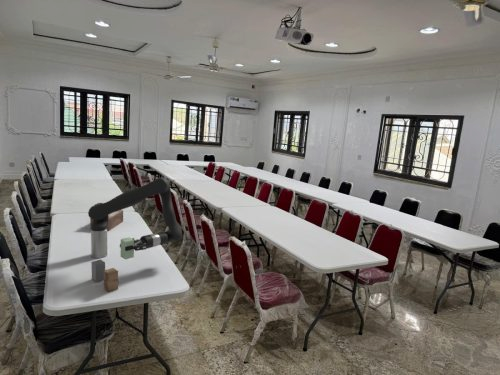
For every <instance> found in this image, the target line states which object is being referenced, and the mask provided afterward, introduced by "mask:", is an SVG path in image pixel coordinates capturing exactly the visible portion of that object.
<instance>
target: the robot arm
mask: <svg viewBox="0 0 500 375" xmlns="http://www.w3.org/2000/svg"><path fill="white" fill-rule="evenodd" d="M171 190H172V189H171V183H170V181H169V179H167V178H165V177H157V178H155V179H153V180H151V181H150V182H148V183H147V184H144V185H142V186H139V187H135V188H133V189H129V190H127V191H125V192H123V193H121V194H119V195H117V196H115V197H114V198H112V199H110V200H108V201H106V202H98V203H96V204H94V205H93V206H91V207H90V208H89V209H88V212H87V213H88V217H89V219H90V218H91V219H93V222H92V224H91V229H90V249H91V250H90V251H91V257H92V258H95V259H100V258H104V257H107V256H108V231H107V225H108V215H109V214H111V213H113V212H116V211H119V210H125V209H127V208H131V207H132V206H135V205H137V204H139V203H141V202H143V201H144V200H145V199H147V198H150V197H153V196H155V195H158V194H159V197H160V199H161V206H162V208H161V210H162V218H163V222H164V224H165V226H166V228H167V227H168V228H169V230H166V231H163V232H158V233H151V234H145V235H142V236H141V237H140V238H138V239H135V238H134V237H132V238H131V239H133V240H134V245H132V246H127V247H125V251H129V250H134V252H135V251H136V252H137V251H143V250H147V249H151V248H156V247H158V246H160V245H161V246H162V245H165V244H167V243H171V242H178V241H181V240H182V238H183V232H182V229H181V227H180V225H179V223H178V221H177V218H176V213H175V209H174V205H173V200H172V193H171ZM119 248H120V249H121V243H119Z"/></svg>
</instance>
